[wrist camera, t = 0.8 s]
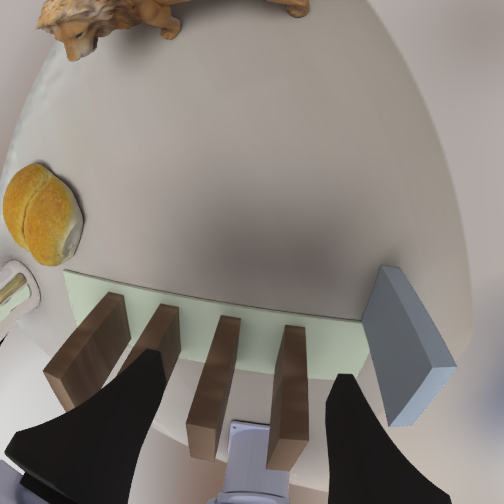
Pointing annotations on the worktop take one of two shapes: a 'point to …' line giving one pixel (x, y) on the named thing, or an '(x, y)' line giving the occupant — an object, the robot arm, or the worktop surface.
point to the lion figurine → (116, 19)
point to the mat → (251, 328)
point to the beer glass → (16, 295)
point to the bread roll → (42, 215)
